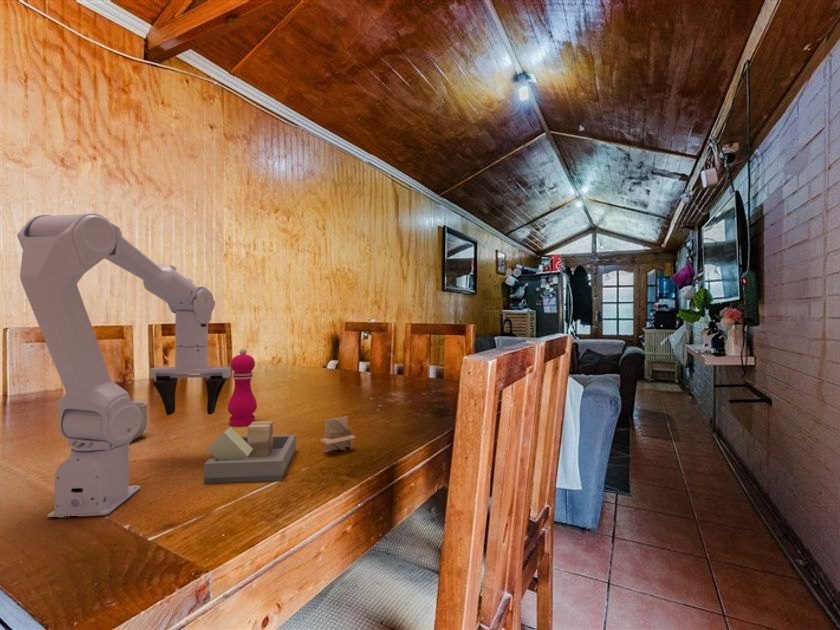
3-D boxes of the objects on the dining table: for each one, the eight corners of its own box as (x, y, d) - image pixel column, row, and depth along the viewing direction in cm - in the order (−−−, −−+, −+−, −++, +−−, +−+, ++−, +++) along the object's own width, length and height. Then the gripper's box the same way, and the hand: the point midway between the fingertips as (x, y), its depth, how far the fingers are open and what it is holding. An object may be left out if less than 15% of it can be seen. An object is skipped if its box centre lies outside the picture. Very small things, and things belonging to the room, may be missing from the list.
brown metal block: (268, 456, 83) (268, 426, 83) (247, 456, 83) (247, 426, 83) (272, 449, 87) (273, 421, 87) (252, 450, 87) (253, 421, 86)
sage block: (247, 456, 75) (224, 432, 75) (230, 471, 75) (206, 448, 74) (252, 448, 79) (230, 426, 79) (236, 463, 79) (213, 441, 78)
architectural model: (356, 453, 90) (356, 419, 90) (327, 460, 85) (328, 424, 85) (347, 449, 93) (347, 415, 93) (319, 456, 88) (320, 421, 88)
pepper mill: (227, 421, 113) (228, 347, 112) (255, 418, 116) (256, 347, 116) (227, 428, 106) (228, 350, 106) (257, 425, 109) (258, 349, 109)
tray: (281, 480, 74) (281, 461, 74) (203, 483, 72) (204, 463, 72) (295, 450, 90) (295, 434, 90) (232, 452, 88) (232, 436, 88)
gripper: (235, 344, 88) (234, 408, 88) (162, 344, 86) (161, 409, 86) (224, 347, 81) (223, 416, 81) (144, 347, 79) (144, 418, 79)
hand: (190, 413), depth 83 cm, fingers open, 7 cm apart
